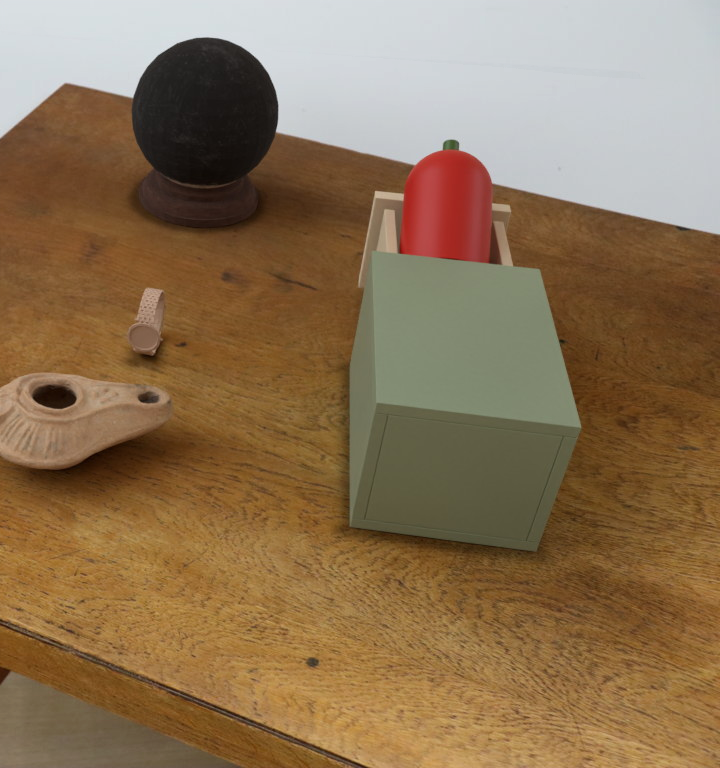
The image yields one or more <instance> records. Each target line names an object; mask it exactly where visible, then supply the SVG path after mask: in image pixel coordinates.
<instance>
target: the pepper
mask: <svg viewBox="0 0 720 768" xmlns="http://www.w3.org/2000/svg"><path fill="white" fill-rule="evenodd" d="M403 188H404V191H403V194H404V198H403V211H402V223H401V236H400V248H399V254H407V255H416V256H425V257H434V258H443V259H452V260H461V261H470V262H479V263H489V261H490V241H491V221H492V203H493V199H494V186H493V181H492V177H491V174H490V172H489V171H488V169H487V166H486V165H484V164H483V162H482V161H481V160H479V159H478V158H477V157H476V156H474V155H473V154H471V153H469V152H467V151H463V150H460V142H459V141H458V140H456V139H446V140H444V141H443V143H442V150H438V151H437V150H436V151H434V152H432V153H430V154H428V155H426V156H424V157H423V158H421V159H420V160H419V161H418V162H417V163H416V164H415V165H414V166H413V167H412V169H411V170H410V172H409V174H408V176H407V178H406V181H405V184H404V187H403Z"/></svg>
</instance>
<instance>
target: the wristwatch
mask: <svg viewBox="0 0 720 768" xmlns="http://www.w3.org/2000/svg"><path fill="white" fill-rule="evenodd" d="M166 309H167V305H166V292H165V290H164V289H159V288H153V287H146V288H145V289H144V291H143V293H142V296H141V300H140V303H139V307H138V312H137V315H136V317H135V318H134V321H135V322H136V323H133V324H132V325H131V326H130V327H129V328H128V330H127V333H126V338H127V342H128V343H129V345H130V346H131V347H132V350H133V351H134V352H135V353H136V354H141V355H145V356H146V355H147V356H155V354H156V352H157V349H158V348H159V346H160V344H161V342H163V341H164V338H162V335H161V334H162V330H163V324H164V317H165V312H166V311H165V310H166Z"/></svg>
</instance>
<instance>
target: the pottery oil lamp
mask: <svg viewBox="0 0 720 768" xmlns="http://www.w3.org/2000/svg"><path fill="white" fill-rule="evenodd" d="M174 410H175V409H174V405H173V400H172V398H171V395H170V394H169V393H168V392H167V391H165V390H164V389H162V388H159V387H158V386H155V385H151V384H150V385H149V384H140V383H129V382H128V383H127V382H117V381H116V382H114V381H105V380H98V379H94V378H93V379H92V378H88V377H85V376H82V375H78V374H67V373H59V372H34V373H33V372H32V373H28V374H25V375H22V376H19V377H16V378H14V379H13V380H11V381H10V382H9V383H7V384H4V385H3V386H1V387H0V457H2V459H4V460H5V461H8V462H9V463H12V464H15V465H19V466H22V467H25V468H31V469H38V470H51V471H56V470H57V471H58V470H65V469H69V468H72V467H75V466H78V464H80V463H82V462H83V461H85V460H86V459H88V458H89V457H90V456H93V455H95V454H96V453H99V452H101V451H104V450H106V449H108V448H111V447H114V446H116V445H119V444H122V443H125V442H128V441H131V440H134V439H138V438H140V437H142V436H145V435H149V434H151V433H153V432H155V431H157V430H159V429H161V428H162V427H163V426H164V425H165V424H166V423H167V422H169V421H170V420H171V418H172V417H173V415H174Z"/></svg>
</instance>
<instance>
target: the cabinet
mask: <svg viewBox="0 0 720 768" xmlns="http://www.w3.org/2000/svg"><path fill="white" fill-rule="evenodd" d="M349 362H350V363H349V527H350V528H355V529H362V530H369V531H376V532H385V533H392V534H400V535H407V536H414V537H421V538H428V539H429V538H430V539H436V540H437V539H438V540H443V541H444V540H445V541H453V542H459V543H466V544H467V543H468V544H475V545H481V546H489V547H496V548H497V547H498V548H504V549H505V548H506V549H512V550H519V551H527V552H533V553H536V552H537V551H538V549H539V545H540V543H541V540H542V537H543V535H544V532H545V529H546V527H547V523H548V521H549V518H550V516H551V513H552V510H553V508H554V504H555V502H556V500H557V499H556V498H557V497H558V493H559V490H560V488H561V485H562V482H563V480H564V477H565V474H566V471H567V468H568V466H569V463H570V460H571V458H572V455H573V452H574V450H575V447H576V444H577V441H578V439H579V436H580V434H581V431H582V424H581V420H580V417H579V413H578V409H577V405H576V401H575V397H574V394H573V389H572V386H571V381H570V378H569V374H568V370H567V367H566V363H565V359H564V355H563V352H562V348H561V345H560V340H559V337H558V333H557V329H556V325H555V321H554V318H553V315H552V309H551V306H550V302H549V299H548V296H547V291H546V288H545V283H544V280H543V275H542V272H541V269H540V268H533V267H524V266H516V265H513V266H507V265H498V264H489V263H479V262H470V261H461V260H452V259H443V258H434V257H425V256H416V255H407V254H398V253H389V252H380V251H372V252H371V257H370V262H369V267H368V273H367V278H366V283H365V288H363V293H362V298H361V304H360V309H359V315H358V319H357V326H356V330H355V335H354V340H353V346H352V351H351V357H350V361H349Z"/></svg>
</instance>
